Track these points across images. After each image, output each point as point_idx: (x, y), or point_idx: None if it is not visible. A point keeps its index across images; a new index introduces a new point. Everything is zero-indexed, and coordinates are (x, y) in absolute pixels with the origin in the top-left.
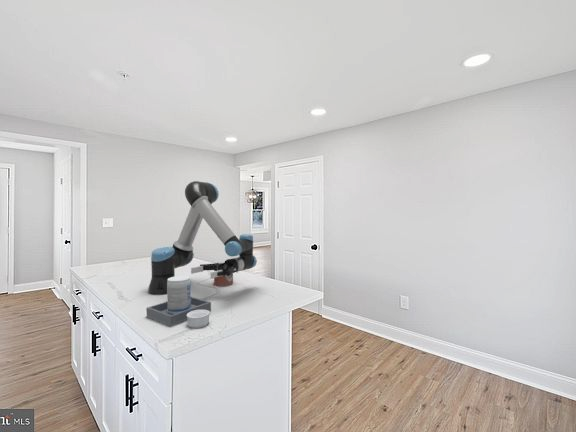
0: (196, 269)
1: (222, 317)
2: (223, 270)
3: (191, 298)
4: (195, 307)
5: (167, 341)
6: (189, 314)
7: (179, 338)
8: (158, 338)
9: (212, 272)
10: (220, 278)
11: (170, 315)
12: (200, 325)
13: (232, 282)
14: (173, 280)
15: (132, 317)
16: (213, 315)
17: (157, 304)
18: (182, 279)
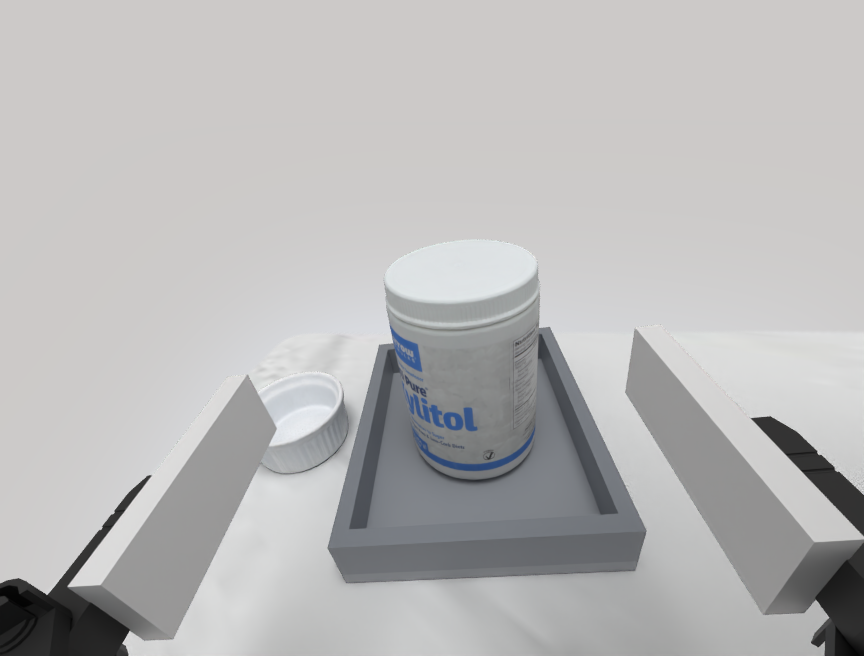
0: (671, 411)
1: (216, 552)
2: (41, 597)
3: (546, 521)
4: (358, 433)
5: (321, 344)
6: (337, 394)
7: (300, 362)
8: (357, 338)
9: (221, 386)
10: None
11: (389, 346)
12: (274, 419)
13: None
14: (435, 247)
15: (584, 337)
16: (286, 539)
17: (563, 357)
18: (405, 267)
